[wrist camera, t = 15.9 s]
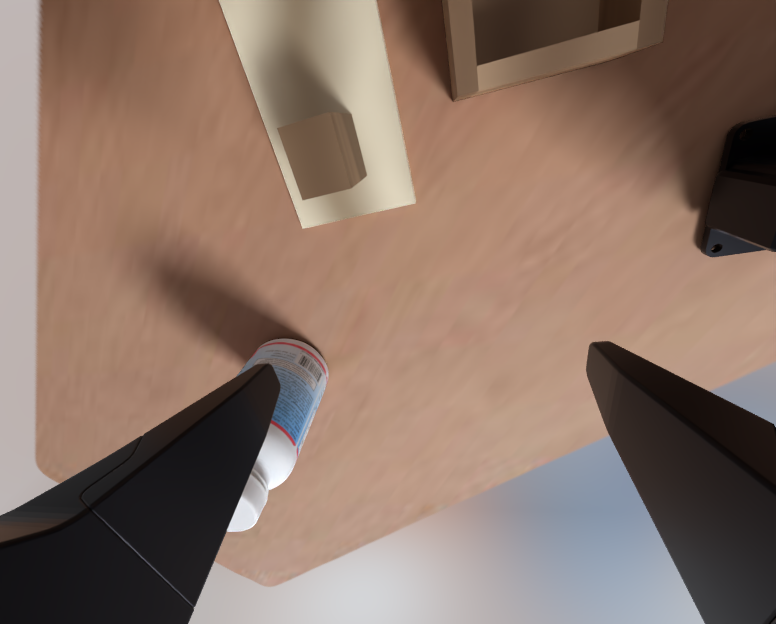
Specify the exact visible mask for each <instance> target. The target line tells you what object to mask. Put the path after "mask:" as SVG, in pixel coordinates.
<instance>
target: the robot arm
mask: <svg viewBox="0 0 776 624" xmlns="http://www.w3.org/2000/svg"><path fill="white" fill-rule="evenodd" d="M743 130H746V134H745V136H744V137H743V138H742V139H740V134H741V132H742V131H743ZM705 224H706V227H705V232H704V236H703V240H702V245H701V252H702V253H703V254H705V255H707V256H709V257H719V256H726V255H733V254H740V253H747V252H754V251H761V250H769V251H771V252H776V115H774V116H769V117H765V118H760V119H755V120H750V121H746V122H742V123H739V124H737V125H735V126H734V127H733V128H732V129H731V130H730V131H729V133H728V135H727V138H726V142H725V146H724V151H723V155H722V159H721V163H720V168H719V172H718V175H717V176H716V179H715V183H714V187H713V192H712V196H711V200H710V205H709V209H708V213H707V217H706V222H705ZM716 244H717V246H716V248H715V249H713V250H711V249H712V247H713V246H714V245H716ZM586 372H587V377H588V380H589V383H590V385H591V388H592V391H593V394H594V396H595V399H596V402H597V404H598V407H599V410H600V413H601V415H602V418H603V421H604V424H605V426H606V429H607V431H608V433H609V435H610V437H611V439H612V441H613V443H614V445H615V447H616V449H617V451H618V453H619V455H620V457H621V459H622V461H623V463H624V465H625V467H626V469H627V471H628V473H629V475H630V477H631V479H632V481H633V483H634V485H635V487H636V489H637V491H638V493H639V495H640V497H641V498H642V500H643V502H644V504H645V506H646V508H647V510H648V512H649V514H650V516H651V518H652V520H653V522H654V524H655V526H656V528H657V530H658V532H659V534H660V536H661V538H662V540H663V542H664V544H665V546H666V548H667V550H668V552H669V553H670V556H671V558H672V559H673V561H674V563H675V565H676V567H677V569H678V571H679V573H680V575H681V577H682V579H683V581H684V583H685V585H686V587H687V589H688V591H689V593H690V595H691V597H692V599H693V601H694V603H695V605H696V607H697V609H698V611H699V612H700V615H701V617H702V619H703V621H704V623H705V624H776V427H775V426H774V424H772V423H770V422H768V421H767V420H765V419H763V418H761V417H758V416H757V415H755V414H753V413H751V412H749V411H747V410H745V409H743V408H741V407H739V406H737V405H735V404H733V403H731V402H729V401H727V400H725V399H723V398H721V397H719V396H717V395H715V394H713V393H711V392H709V391H707V390H705V389H703V388H701V387H699V386H697V385H695V384H693V383H691V382H689V381H687V380H685V379H683V378H681V377H679V376H677V375H675V374H673V373H671V372H669V371H668V370H666V369H664V368H662V367H660V366H658V365H656V364H654V363H652V362H650V361H648V360H646V359H644V358H642V357H640V356H638V355H636V354H634V353H632V352H630V351H628V350H626V349H624V348H622V347H620V346H618V345H616V344H614V343H612V342H610V341H601V342H592V343H591V344H590V346H589V350H588V358H587V366H586ZM280 389H281V385H280V382H279V379H278V377H277V375H276V373H275V370H274V368H273V366H272V365H271V364H269V363H262V364H256V365H254V366H253V367H251V368H250V369H248V370H246V371H245V372H243V373H242V374H240V375H238V376H237V377H235V378H234V379H232V380H230V381H229V382H227V383H225V384H224V385H222V386H221V387H219V388H217V389H216V390H214V391H213V392H211V393H209V394H208V395H206V396H205V397H203V398H201V399H200V400H198V401H196V402H195V403H193V404H192V405H190V406H188V407H187V408H185V409H184V410H182V411H180V412H179V413H177V414H176V415H174V416H172V417H171V418H169V419H168V420H166V421H164V422H163V423H161V424H159V425H158V426H156V427H155V428H153V429H151V430H150V431H148V432H147V433H145V434H144V435H143V436H140V437H138V438H137V439H135V440H134V441H132V442H130V443H129V444H127V445H125V446H124V447H122V448H121V449H119V450H117V451H116V452H114V453H112V454H111V455H109V456H107V457H106V458H104V459H102V460H100V461H99V462H97V463H95V464H94V465H92V466H90V467H88V468H87V469H85V470H83V471H81V472H80V473H78V474H76V475H74V476H73V477H71V478H69V479H67V480H66V481H64V482H62V483H60V484H59V485H57V486H55V487H53V488H51V489H50V490H48V491H46V492H44V493H43V494H41V495H39V496H37V497H35V498H34V499H32V500H30V501H28V502H27V503H25V504H23V505H21V506H19V507H17V508H16V509H14V510H12V511H10V512H7V513H5V514H3V515H1V516H0V624H188V623H189V621H190V618H191V615H192V613H193V611H194V607H195V606H196V603H197V601H198V598H199V596H200V594H201V591H202V589H203V587H204V584H205V582H206V579H207V577H208V574H209V572H210V570H211V567H212V565H213V563H214V560H215V558H216V555H217V553H218V551H219V548H220V546H221V543H222V541H223V539H224V536H225V534H226V532H227V529H228V527H229V524H230V522H231V520H232V517H233V515H234V512H235V510H236V508H237V505H238V503H239V500H240V498H241V496H242V493H243V491H244V488H245V486H246V484H247V481H248V479H249V477H250V474H251V472H252V469H253V467H254V465H255V462H256V460H257V457H258V455H259V453H260V450H261V448H262V445H263V443H264V441H265V438H266V435H267V432H268V429H269V426H270V423H271V420H272V417H273V413H274V410H275V407H276V403H277V400H278V397H279V394H280Z"/></svg>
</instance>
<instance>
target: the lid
mask: <svg viewBox="0 0 776 624" xmlns="http://www.w3.org/2000/svg"><path fill="white" fill-rule="evenodd" d="M219 2H220V5H221V8H222V10H223V13H224V16H225V19H226V21H227V24H228V27H229V29H230V32H231V35H232V38H233V40H234V43H235V46H236V49H237V51H238V54H239V57H240V59H241V62H242V65H243V68H244V70H245V73H246V76H247V78H248V81H249V84H250V87H251V89H252V92H253V95H254V97H255V100H256V103H257V106H258V108H259V111H260V114H261V116H262V119H263V122H264V125H265V127H266V130H267V133H268V136H269V138H270V141H271V144H272V146H273V149H274V152H275V155H276V157H277V160H278V163H279V165H280V168H281V171H282V174H283V176H284V179H285V182H286V184H287V187H288V190H289V193H290V195H291V198H292V201H293V204H294V206H295V209H296V212H297V214H298V217H299V220H300V223H301V225H302V228H303V229H304V228H308V227H313V226H317V225H321V224H326V223H330V222H335V221H339V220H344V219H348V218H352V217H357V216H361V215H366V214H370V213H375V212H379V211H383V210H388V209H392V208H397V207H401V206H406V205H410V204H414V203H416V197H415V192H414V187H413V182H412V177H411V172H410V167H409V162H408V157H407V151H406V146H405V141H404V136H403V131H402V126H401V121H400V116H399V111H398V106H397V101H396V96H395V91H394V85H393V80H392V75H391V70H390V65H389V60H388V55H387V50H386V45H385V40H384V35H383V30H382V24H381V19H380V14H379V9H378V4H377V0H219Z"/></svg>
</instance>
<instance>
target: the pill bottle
mask: <svg viewBox="0 0 776 624" xmlns="http://www.w3.org/2000/svg"><path fill="white" fill-rule="evenodd" d="M262 363H269V364H271V365H272V366H273V368H274V370H275V373H276V375H277V377H278V379H279V382H280V385H281V389H280V394H279V397H278V400H277V403H276V407H275V410H274V413H273V417H272V420H271V423H270V426H269V429H268V432H267V435H266V438H265V441H264V443H263V445H262V448H261V450H260V453H259V455H258V457H257V460H256V462H255V465H254V467H253V469H252V472H251V474H250V477H249V479H248V481H247V484H246V486H245V488H244V491H243V493H242V496H241V498H240V500H239V503H238V505H237V508H236V510H235V512H234V515H233V517H232V520H231V522H230V524H229V527H228V529H227V531H229V532H239V531H244V530H247V529H249V528H251V527H253V526H254V525H255V523H256V522H257V520H258V518H259V516H260V514H261V512H262V509H263V507H264V506H265V504H266V502H267V496H268V490H270V489H273V488H275V487H277V486H278V485H280V484H281V483H282V482H284V481H285V480H286V479H287V477H288V476H289V475H290V473H291V472H292V470H293V467H294V465H295V463H296V460H297V458H298V455H299V453H300V450H301V448H302V445H303V443H304V440H305V438H306V435H307V433H308V430H309V428H310V425H311V423H312V421H313V418H314V416H315V413H316V411H317V408H318V406H319V403H320V401H321V398H322V396H323V393H324V391H325V388H326V385H327V382H328V377H329V375H328V368H327V365H326V363H325V361H324V359H323V358H322V356H321V355H320V354H319V353H318V352H317V351H316V350H315V349H314V348H312V347H311V346H309V345H308V344H306V343H304V342H301V341H298V340H294V339H275V340H271V341H268V342H266V343H264V344H262V345H261V346H260V347H259V348H258V349H257V350H256V351H255V353H254V354H253V355H252V356H251V358H250V359H249V360H248V362H247V363H246V364H245V366H244V367H243V368H242V370H241V371H240V372H239V374H238V375H240V374H242V373H243V372H245V371H246V370H248V369H250V368H251V367H253V366H254V365H256V364H262ZM238 375H237V376H238ZM237 376H236V377H237Z"/></svg>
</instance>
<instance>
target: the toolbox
mask: <svg viewBox="0 0 776 624" xmlns="http://www.w3.org/2000/svg"><path fill="white" fill-rule="evenodd" d="M667 6H668V0H442V8H443V17H444V26H445V35H446V44H447V53H448V63H449V72H450V81H451V90H452V99H453V102H455V101H459V100H463V99H466V98H470V97H474V96H478V95H482V94H485V93H489V92H493V91H497V90H501V89H504V88H508V87H512V86H516V85H520V84H523V83H527V82H531V81H535V80H539V79H542V78H546V77H550V76H554V75H558V74H561V73H565V72H569V71H573V70H577V69H580V68H584V67H588V66H592V65H596V64H599V63H603V62H607V61H611V60H613V59H616V58H619V57H622V56H625V55H628V54H630V53H633V52H636V51H639V50H642V49H645V48H648V47H650V46H653V45H656V44H659V43H662V42H663V36H664V28H665V21H666V14H667Z"/></svg>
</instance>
